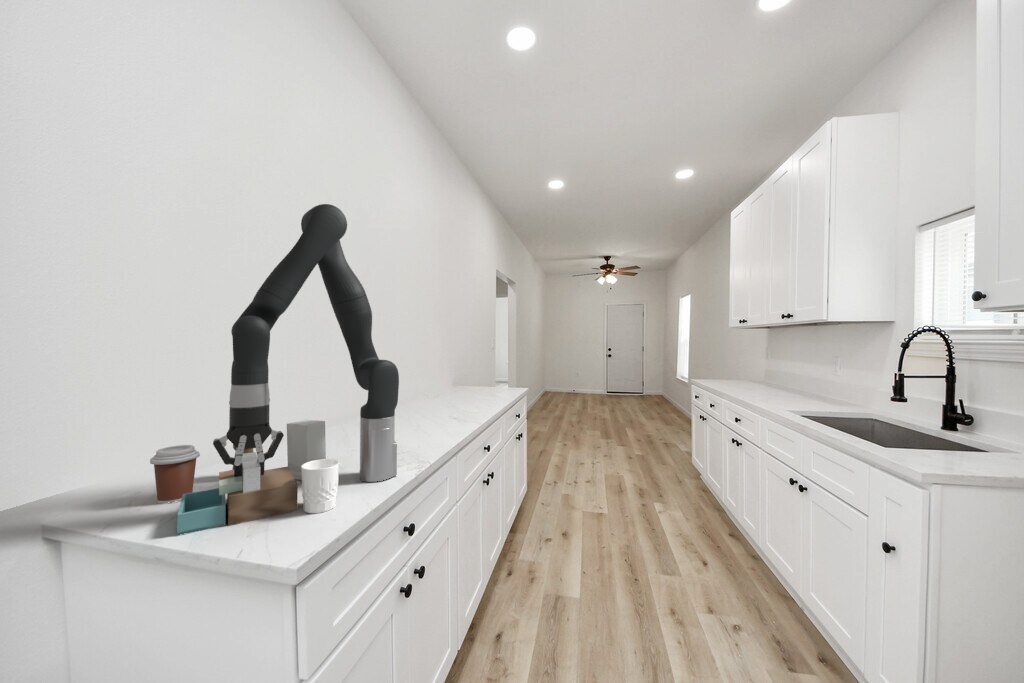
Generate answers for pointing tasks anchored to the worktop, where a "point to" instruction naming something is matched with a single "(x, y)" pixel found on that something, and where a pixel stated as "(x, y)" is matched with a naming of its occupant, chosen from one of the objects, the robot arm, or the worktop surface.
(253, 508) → the brown wooden box
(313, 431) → the skincare box
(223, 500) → the teal box
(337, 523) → the worktop surface
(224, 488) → the sage tile
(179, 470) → the coffee cup
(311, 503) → the white cup
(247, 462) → the steel bar
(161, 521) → the worktop surface
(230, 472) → the terracotta tile
